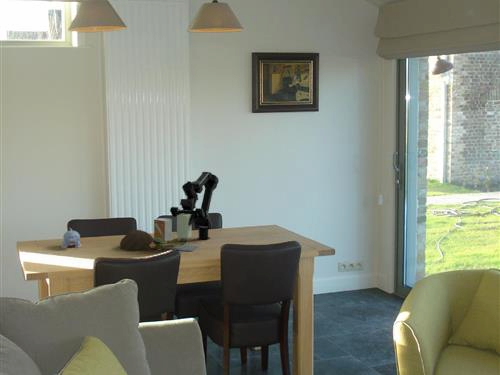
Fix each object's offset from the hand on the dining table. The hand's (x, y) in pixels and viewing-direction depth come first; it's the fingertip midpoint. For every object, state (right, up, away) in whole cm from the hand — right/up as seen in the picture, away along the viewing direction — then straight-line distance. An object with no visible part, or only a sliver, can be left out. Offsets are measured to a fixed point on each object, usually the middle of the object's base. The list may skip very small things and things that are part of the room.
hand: (183, 225), depth 393 cm
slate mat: (0, -13, +3) cm, 13 cm away
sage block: (0, -6, +2) cm, 7 cm away
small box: (-13, -11, +21) cm, 27 cm away
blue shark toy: (-62, -12, +6) cm, 63 cm away
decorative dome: (-25, -13, +6) cm, 29 cm away
